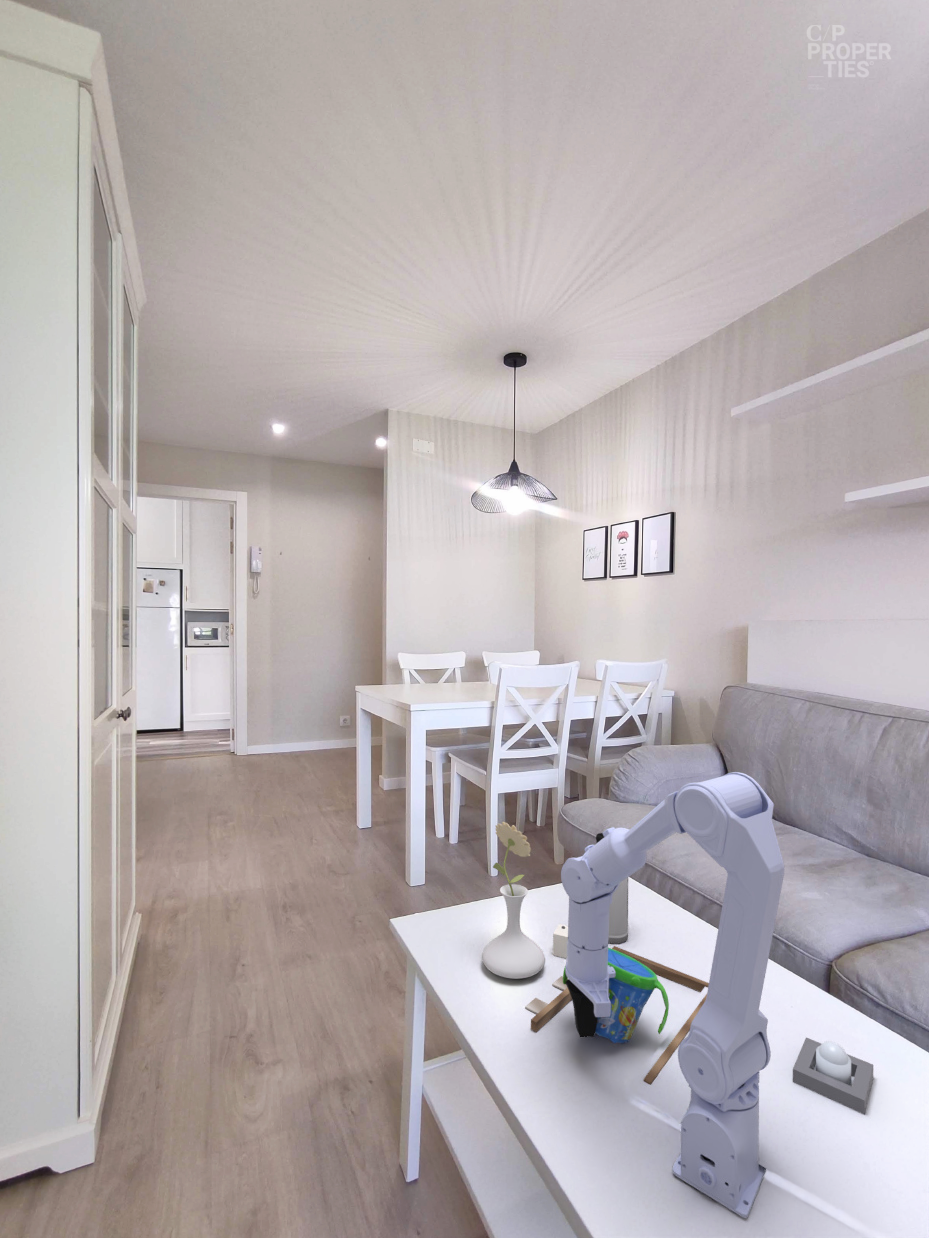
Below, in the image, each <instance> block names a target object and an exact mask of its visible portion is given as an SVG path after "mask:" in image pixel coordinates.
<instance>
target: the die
mask: <svg viewBox="0 0 929 1238" xmlns="http://www.w3.org/2000/svg"><path fill="white" fill-rule="evenodd" d="M552 935H553V936H552V937H553V938H552V956H555V957H559V958H561V959H566V960H567V942H568V925H566V924H561V923H559V924H558V926H556V928H555V930H554V932H553V934H552Z"/></svg>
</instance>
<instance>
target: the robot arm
mask: <svg viewBox="0 0 929 1238" xmlns="http://www.w3.org/2000/svg"><path fill="white" fill-rule="evenodd" d="M774 808H775V804H774V802H773V801H772V799H771V798H770V797H769V795H767V793H766V792H765V790H764V789H763V788H762V786H761V785H760V784H759V783H758V781H756V779H755V778H753V777H752V776H750V775H748V774H746V773H743V772H738V771H734V772H728V773H726V774H724V775H722V776H719V777H715V778H714V777H713V778H711V779H708V780H703V781H700V782H697V781H696V782H689V783H686V784H684V785H683V786H682V787H680V788H679V790H677V791H676V790H675V791H674V792H672V793H669V794H668V795H667V796H666V797H665V798H664V799H663V800H662V801H661V802H660V803H658V804H657V805H656V806H655V807H654V808H653V809H652V810H650V812H648V813H647V814H646V815H645V816H644V817H643V818H642V819H640V820H639V821H638V822H637V823H635V824H634V825H633V826H632V827H631V828H630V829H629V828H625V827H614V826H612V827H610V828H606V829H605V830H604V831H603V832H602V833H603V835H604V838H603V839H602V840H600V841H599V842H598V843H597V844H596V843H595V844H590V845H587V846H586V847H584V854H583V855H582V856H578V857H569V858H567V859H566V860H565V862H564V863H563V865H562V867H561V872H560V879H561V883H562V887H563V889H564V891H565V893H566V895H567V896H568V919H567V923H568V924H567V926H568V942H567V959H566V961H565V965H566V970H565V973H566V976H567V977H568V980H567V981H566V985H567V988H568V990H569V992H570V995H571V998H572V1000H571V1001H572V1002H571V1003H572V1007H573V1013H574V1014H573V1015H574V1022H575V1023H574V1024H575V1028H576V1031H577V1033H578V1036H579V1038H594V1037H595V1034H596V1033H595V1032H596V1026H597V1019H598V1017H610V1011H611V1002H610V1000H609V996H608V987H609V978H614V977H615V975H616V972H615V970H614V968H613V967H612V966H611V967H610V966H609V965H608V948H609V943H608V939H609V906H610V904H611V903H612V896H613V893H614V892H615V891H616V890H617V889H618V887H619V883H620V882H622V881H623V880H625V879H626V878H628V879H629V878H630V877H631V876H632V875H634V874H635V873H636V872H637V871H639V870H640V869H642V868H643V867H644V866H645V864H646V863H647V858H648V857H647V856H648V855H647V852H648V851H649V850H651V849H652V848H654V847H655V846H657V845H659V844H661V843H662V842H664V841H665V840H667V839H668V838H669V837H671V836H673V835H674V834H676V833H677V834H680V835H682V834H685V833H687V834H688V836H690V837H691V838H692V839H693V840H694V841H695V843H697V845H699V846H700V848H702V849H703V850H704V851H705V852H706V854H708V855H709V856H710V858H712V859H713V860H714V861H715V862H716V863H717V864H718V865H719V866H720V867H722V868H724V870H725V872H726V873H727V876H726V883H725V889H724V894H723V899H722V906H721V912H720V917H719V924H718V929H717V935H716V940H715V946H714V952H713V956H712V957H713V958H712V962H711V963H712V964H711V969H710V974H709V975H710V976H709V982H708V983H709V986H708V987H707V993H706V994H707V997H706V1000H705V1002H704V1004H703V1005H702V1007H701V1008H700V1010H699V1011H698V1013H697V1015H696V1016H695V1018H694V1019H693V1021H692V1023H691V1027H690V1031H689V1032H688V1033H687V1035H686V1036H685V1038H684V1039H683V1040H682V1042H681V1043H680V1045H679V1046H678V1047H677V1059H678V1064H679V1068H680V1071H681V1073H682V1075H683V1077H684V1079H685V1081H686V1083H687V1084H688V1087H689V1088H690V1101H689V1104H688V1107H687V1109H686V1112H685V1114H684V1115H683V1118H682V1120H681V1123H680V1124H681V1126H680V1152H679V1155H678V1156H677V1159H676V1161H675V1162H674V1164H673V1166H672V1169H671V1170H672V1171H671V1172H672V1174H673V1175H674V1176H675V1177H677V1178H678V1179H680V1180H682V1181H684V1182H685V1183H687V1184H688V1185H689V1186H691V1187H693V1188H695V1189H697V1190H698V1191H699V1192H701V1193H703V1195H706V1196H708V1197H709V1198H711V1199H712V1200H714V1201H715V1202H717V1203H718V1204H721V1205H723V1206H724V1207H725V1208H727V1209H729V1210H730V1211H731V1212H733V1213H735V1214H737V1215H739V1216H740V1217H742V1218H743V1219H745V1218H748V1217H749V1215H750V1212H751V1210H752V1206H753V1205H754V1201H755V1199H756V1197H757V1194H758V1192H759V1189H760V1187H761V1184H762V1182H763V1180H764V1177H765V1175H766V1171H767V1167H765V1166H763V1165H762V1164H759V1161H760V1159H759V1157H760V1154H759V1153H760V1151H759V1149H760V1145H759V1144H760V1143H759V1142H760V1137H759V1136H760V1084H759V1083H760V1071H762V1070H764V1069H765V1068H767V1066H768V1065H769V1063H770V1061H771V1056H772V1055H771V1052H772V1051H771V1046H770V1042H769V1039H768V1034H767V1033H768V1032H767V1031H768V1030H767V1029H768V1028H767V1027H768V1023H769V1020H768V1017H766V1016H765V1014H764V1013H763V1012H762V1011H761V1010H760V1006H761V1005H760V1004H761V1000H762V996H763V995H762V994H763V989H764V983H765V979H766V974H767V969H768V963H769V958H770V950H771V947H772V941H773V936H774V932H775V931H774V930H775V925H776V920H777V919H776V918H777V915H778V909H779V904H780V899H781V893H782V888H783V883H784V878H785V877H784V876H785V862H784V859H783V855H782V852H781V848H780V844H779V840H778V837H777V834H776V830H775V826H774V823H773V814H774Z"/></svg>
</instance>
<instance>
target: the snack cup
mask: <svg viewBox="0 0 929 1238" xmlns="http://www.w3.org/2000/svg"><path fill="white" fill-rule="evenodd" d="M608 965H609V966H610V967H611V966H612V967H613V968H614V970H615V972H616V975H615V977H614V978H609V987H608V996H609V1000H610V1002H611V1011H610V1017H598V1019H597V1026H596V1032H595V1034H596V1035H598V1036H599V1037H602V1038H605V1039H607V1040H609V1041H611V1042H612V1043H613V1044H617V1043H619V1044H625V1043H629V1042H630V1040H631V1038H632V1036H633V1034H634V1031H635V1029H636V1027H637V1025H638V1022H639V1019H640V1017H641V1015H642V1013H643V1009H644V1007H645V1005H646V1004H647V1002H648V1001H649V999H650V997H651V996H652V994H653V992H654V990H655V989H658V990H659V991H660V992H661V996H662V1000H663V1003H664V1007H665V1008H664V1010H665V1011H664V1014H663V1017H662V1020H661V1023H660V1024H659V1027H658V1029H657V1032H658V1033H657V1034H659V1035H660V1034H661V1032H662V1031H663V1030H664V1028H665V1026H666V1022H667V1021H668V1020H667V1019H668V1016H669V1008H670V1007H669V1006H670V1003H669V997H668V993H667V991H666V988H665V987H664V985H663V984H662V983H661V982H660V981H659V979H658V975H657V974H655V973H654V972H653V971H652V970H651V969H649V968H648V967H647V966H645V965H644V964H642V963H640V962H639V961H637V960H635V959H633V958H632V957H630V956H628V955H625V954H623V953H621V952H619V951H616V950H614V949H612V947H608ZM565 970H566V964H565V966H564V968H563V973H562V974H563V975H562V976H563V984H566V981H567V980H568V977H567V976H566V973H565Z"/></svg>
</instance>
